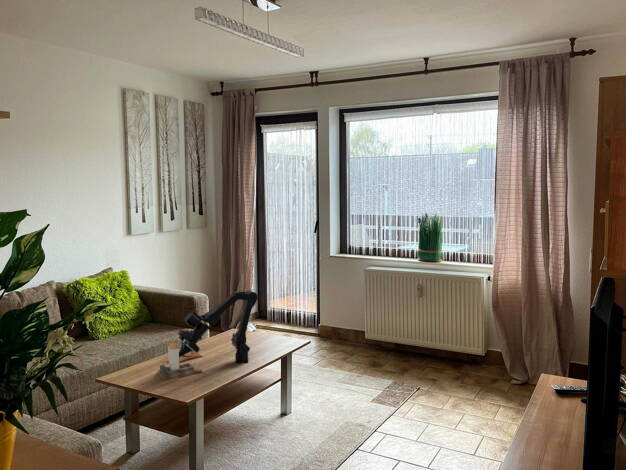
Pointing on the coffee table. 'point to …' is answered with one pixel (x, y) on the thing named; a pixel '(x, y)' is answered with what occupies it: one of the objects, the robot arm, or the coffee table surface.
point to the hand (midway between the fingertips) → (178, 356)
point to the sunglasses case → (189, 356)
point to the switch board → (179, 371)
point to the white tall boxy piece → (173, 357)
